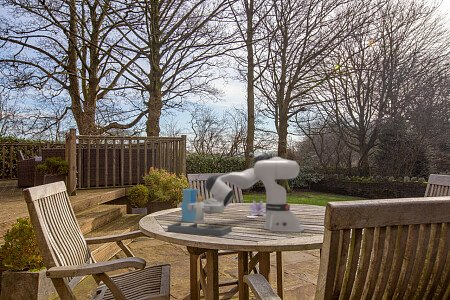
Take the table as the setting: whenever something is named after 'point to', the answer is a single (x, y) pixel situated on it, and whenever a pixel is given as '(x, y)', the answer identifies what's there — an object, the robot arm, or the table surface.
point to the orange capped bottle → (199, 211)
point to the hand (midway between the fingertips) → (199, 209)
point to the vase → (188, 198)
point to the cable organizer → (199, 229)
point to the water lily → (257, 208)
